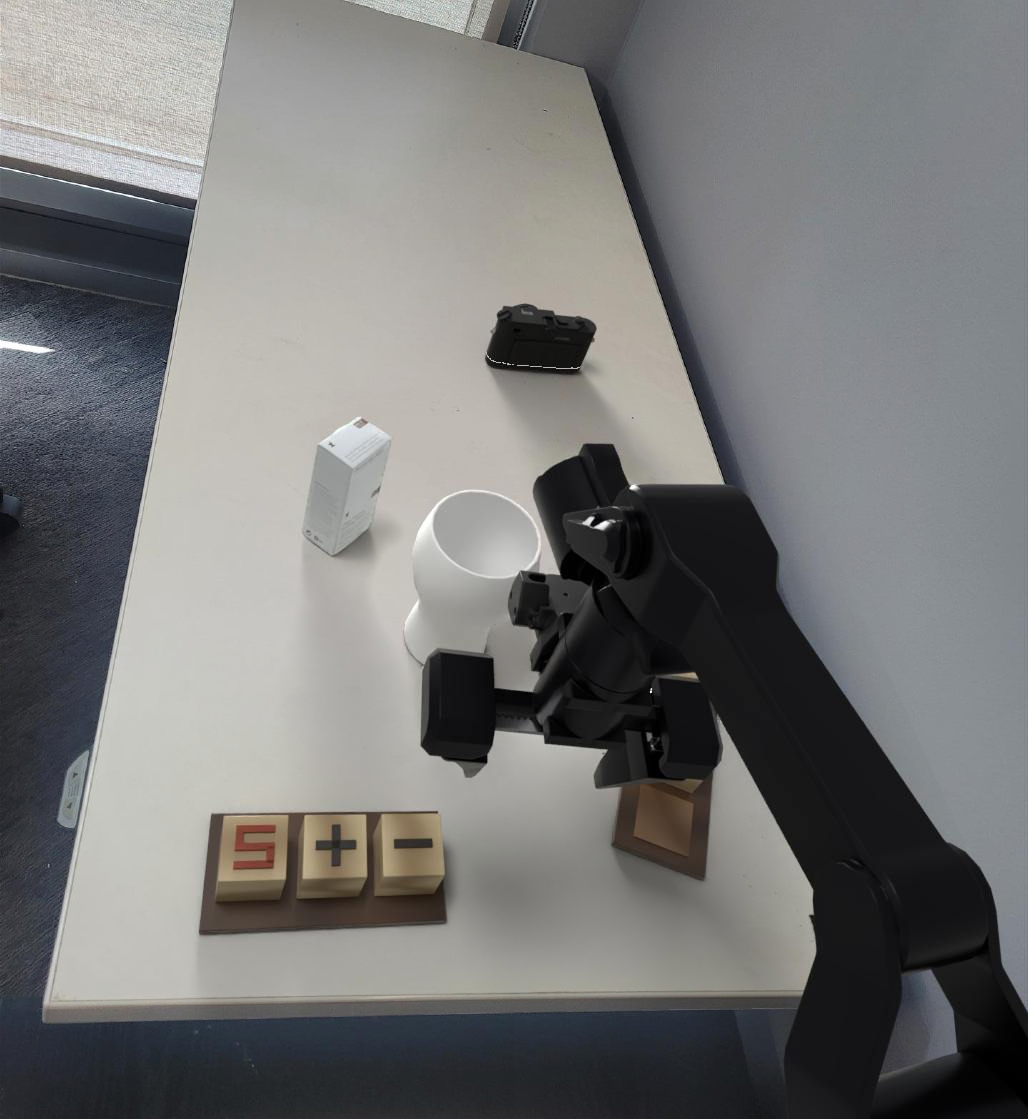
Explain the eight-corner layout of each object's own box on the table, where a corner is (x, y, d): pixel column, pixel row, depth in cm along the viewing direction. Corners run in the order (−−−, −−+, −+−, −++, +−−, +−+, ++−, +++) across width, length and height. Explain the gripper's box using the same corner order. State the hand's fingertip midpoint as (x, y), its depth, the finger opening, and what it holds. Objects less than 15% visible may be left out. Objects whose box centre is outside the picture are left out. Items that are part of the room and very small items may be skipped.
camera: (572, 343, 124) (591, 296, 119) (586, 378, 119) (607, 330, 114) (472, 334, 119) (488, 284, 114) (483, 370, 114) (500, 320, 109)
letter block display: (702, 880, 74) (725, 858, 71) (610, 845, 74) (630, 821, 71) (723, 605, 97) (741, 580, 94) (653, 577, 97) (669, 551, 94)
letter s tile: (280, 899, 63) (286, 878, 61) (214, 902, 62) (217, 880, 60) (283, 836, 67) (289, 813, 64) (220, 837, 65) (224, 814, 63)
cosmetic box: (333, 558, 87) (354, 472, 79) (297, 532, 88) (314, 444, 80) (373, 524, 91) (397, 438, 83) (339, 499, 92) (359, 413, 84)
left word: (436, 813, 72) (449, 788, 69) (444, 922, 66) (459, 900, 63) (210, 816, 67) (214, 788, 64) (198, 934, 61) (202, 909, 58)
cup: (462, 576, 90) (503, 471, 80) (521, 662, 84) (573, 561, 74) (367, 610, 83) (399, 502, 74) (424, 705, 78) (466, 602, 68)
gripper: (729, 560, 60) (642, 686, 70) (452, 518, 56) (402, 658, 66) (773, 713, 52) (667, 831, 62) (453, 678, 47) (395, 810, 58)
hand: (533, 776), depth 62 cm, fingers open, 9 cm apart
